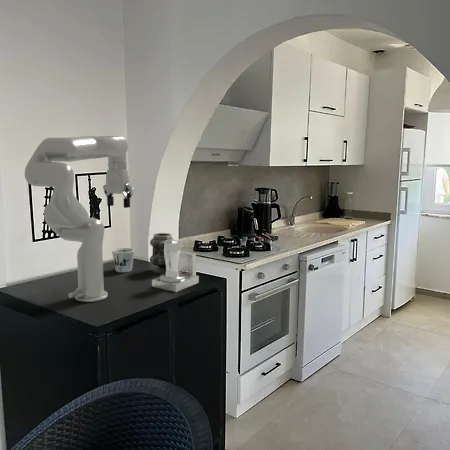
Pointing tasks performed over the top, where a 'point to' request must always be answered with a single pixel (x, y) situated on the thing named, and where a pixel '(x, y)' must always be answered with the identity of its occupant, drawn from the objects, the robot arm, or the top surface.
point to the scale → (186, 267)
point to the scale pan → (178, 279)
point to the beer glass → (172, 258)
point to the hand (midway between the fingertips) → (118, 206)
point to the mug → (123, 259)
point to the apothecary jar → (159, 251)
